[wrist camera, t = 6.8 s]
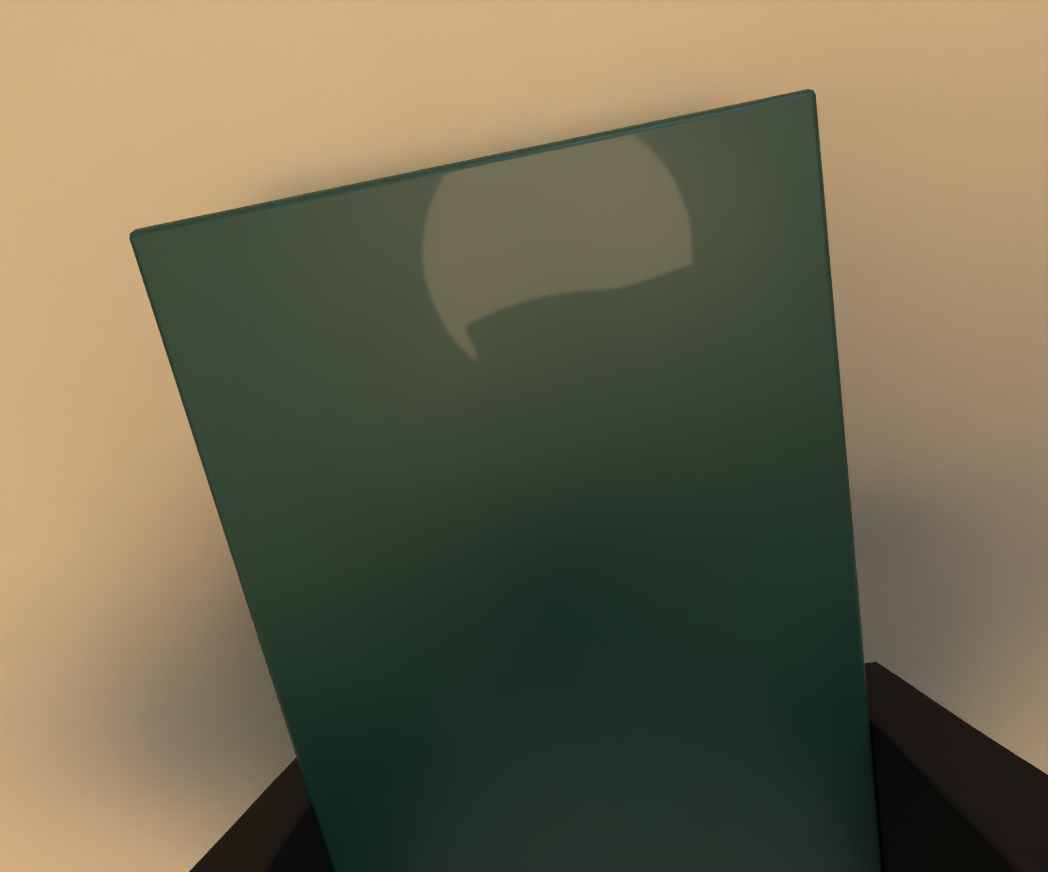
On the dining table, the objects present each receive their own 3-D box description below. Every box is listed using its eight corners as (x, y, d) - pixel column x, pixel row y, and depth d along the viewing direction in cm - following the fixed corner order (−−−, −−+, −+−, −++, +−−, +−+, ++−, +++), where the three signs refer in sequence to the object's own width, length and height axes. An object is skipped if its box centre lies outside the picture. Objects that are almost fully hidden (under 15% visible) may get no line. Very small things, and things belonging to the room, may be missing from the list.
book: (835, 1058, 13) (921, 1314, 10) (499, 1096, 13) (486, 1352, 10) (727, 125, 9) (817, 87, 6) (256, 222, 9) (123, 231, 6)
